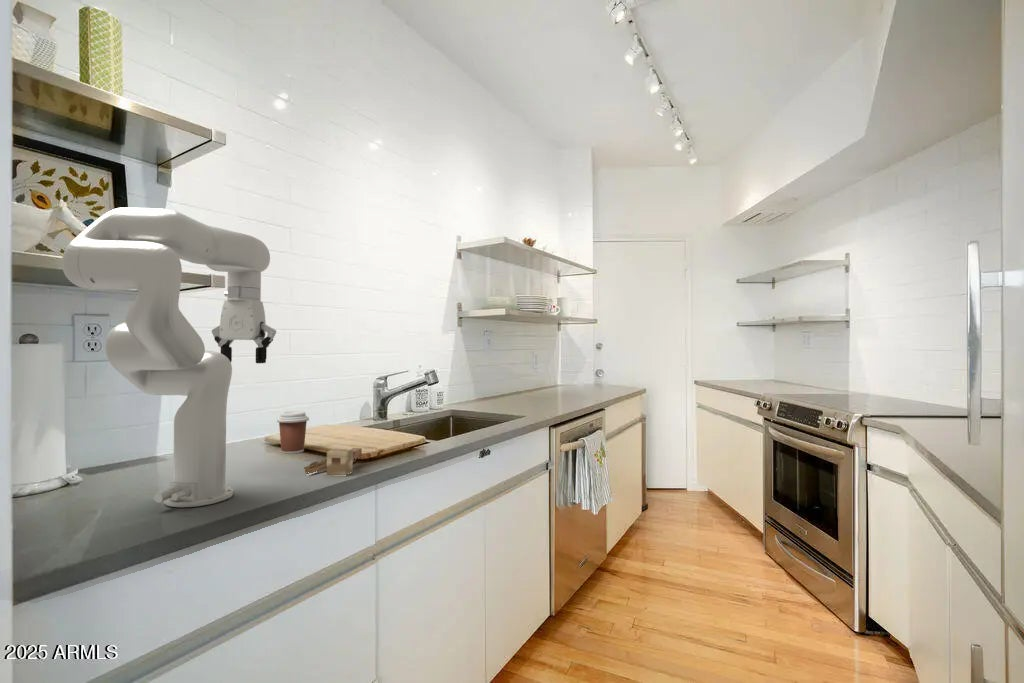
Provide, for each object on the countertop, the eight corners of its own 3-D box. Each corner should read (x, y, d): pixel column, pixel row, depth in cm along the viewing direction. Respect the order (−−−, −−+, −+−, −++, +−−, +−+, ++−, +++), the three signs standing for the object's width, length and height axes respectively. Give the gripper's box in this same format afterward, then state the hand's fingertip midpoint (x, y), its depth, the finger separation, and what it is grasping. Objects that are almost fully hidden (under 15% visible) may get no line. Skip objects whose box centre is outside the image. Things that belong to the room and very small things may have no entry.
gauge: (345, 476, 127) (345, 452, 127) (326, 475, 128) (326, 451, 128) (365, 465, 139) (366, 443, 139) (348, 464, 140) (349, 442, 140)
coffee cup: (269, 452, 153) (270, 413, 154) (294, 447, 162) (295, 409, 162) (290, 456, 149) (290, 415, 149) (315, 450, 157) (315, 411, 157)
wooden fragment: (340, 454, 154) (340, 450, 154) (373, 456, 151) (373, 453, 151) (283, 476, 128) (284, 471, 128) (322, 479, 126) (322, 475, 126)
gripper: (202, 294, 126) (201, 362, 126) (266, 294, 124) (265, 364, 123) (224, 297, 134) (223, 361, 133) (284, 297, 131) (283, 362, 131)
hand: (243, 362), depth 128 cm, fingers open, 9 cm apart
